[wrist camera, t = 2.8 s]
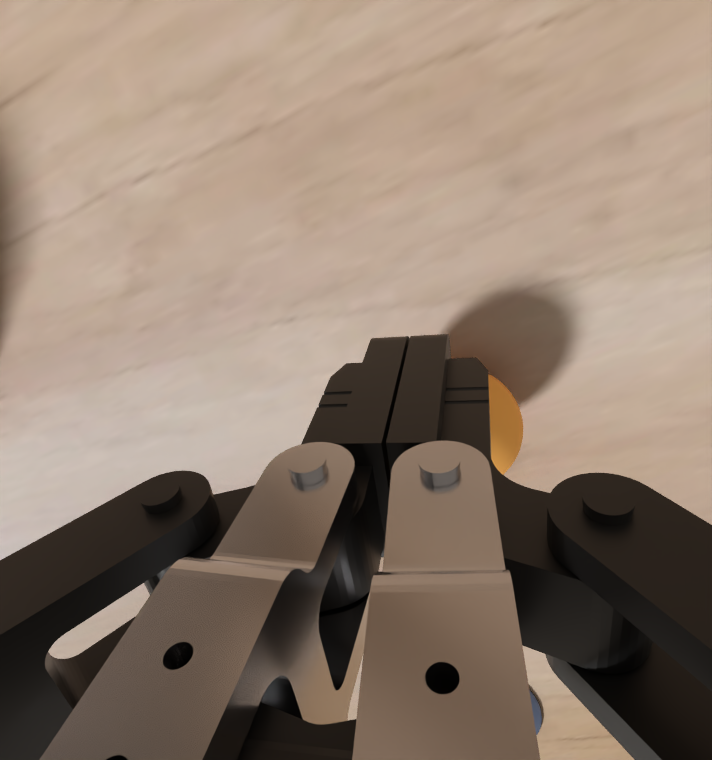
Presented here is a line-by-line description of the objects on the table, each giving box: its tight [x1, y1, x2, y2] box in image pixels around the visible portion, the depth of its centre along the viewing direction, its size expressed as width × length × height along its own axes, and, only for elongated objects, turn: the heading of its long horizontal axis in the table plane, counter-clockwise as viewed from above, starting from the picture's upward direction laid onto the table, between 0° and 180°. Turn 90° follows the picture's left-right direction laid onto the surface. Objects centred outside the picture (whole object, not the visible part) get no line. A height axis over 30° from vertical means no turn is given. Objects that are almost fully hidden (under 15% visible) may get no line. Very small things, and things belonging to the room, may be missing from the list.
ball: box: [488, 374, 523, 475], centre depth 26 cm, size 6×6×6 cm
